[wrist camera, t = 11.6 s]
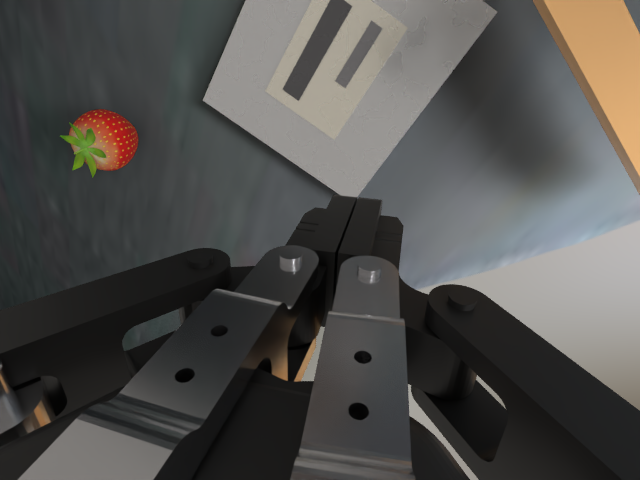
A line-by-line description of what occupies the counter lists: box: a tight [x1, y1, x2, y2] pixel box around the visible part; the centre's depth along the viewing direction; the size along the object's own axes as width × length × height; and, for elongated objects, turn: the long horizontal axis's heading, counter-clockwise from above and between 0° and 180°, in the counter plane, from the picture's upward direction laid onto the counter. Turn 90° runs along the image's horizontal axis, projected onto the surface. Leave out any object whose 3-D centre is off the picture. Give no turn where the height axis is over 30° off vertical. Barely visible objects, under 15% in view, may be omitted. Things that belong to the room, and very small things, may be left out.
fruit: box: [60, 109, 138, 178], centre depth 39 cm, size 5×5×8 cm
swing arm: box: [533, 0, 640, 195], centre depth 24 cm, size 28×4×3 cm, turn 39°
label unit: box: [203, 0, 497, 197], centre depth 33 cm, size 18×16×2 cm
